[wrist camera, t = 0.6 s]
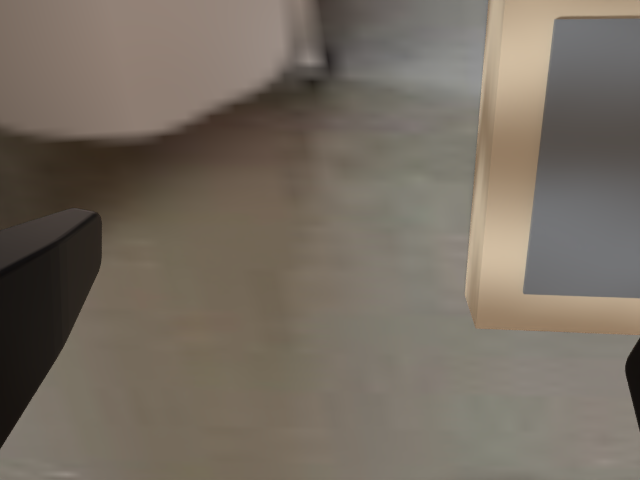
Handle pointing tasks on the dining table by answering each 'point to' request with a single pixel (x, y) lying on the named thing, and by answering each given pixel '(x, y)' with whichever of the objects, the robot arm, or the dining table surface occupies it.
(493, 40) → the birch plinth
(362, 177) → the dining table surface
